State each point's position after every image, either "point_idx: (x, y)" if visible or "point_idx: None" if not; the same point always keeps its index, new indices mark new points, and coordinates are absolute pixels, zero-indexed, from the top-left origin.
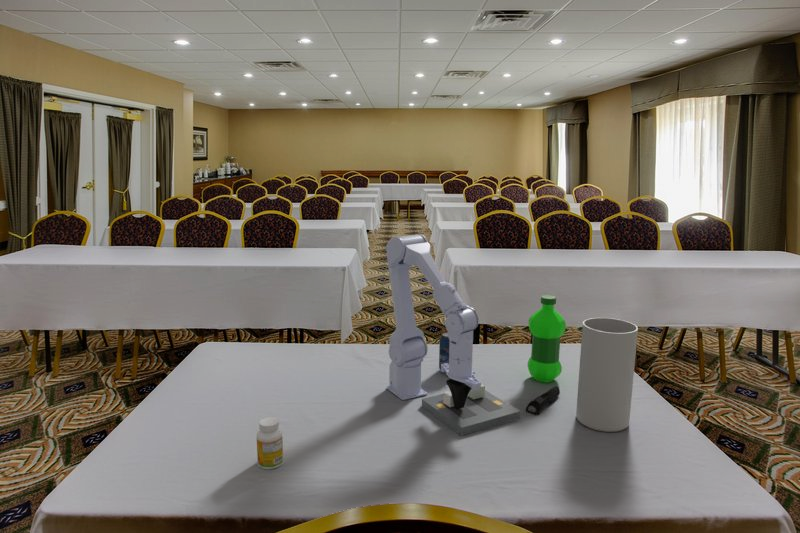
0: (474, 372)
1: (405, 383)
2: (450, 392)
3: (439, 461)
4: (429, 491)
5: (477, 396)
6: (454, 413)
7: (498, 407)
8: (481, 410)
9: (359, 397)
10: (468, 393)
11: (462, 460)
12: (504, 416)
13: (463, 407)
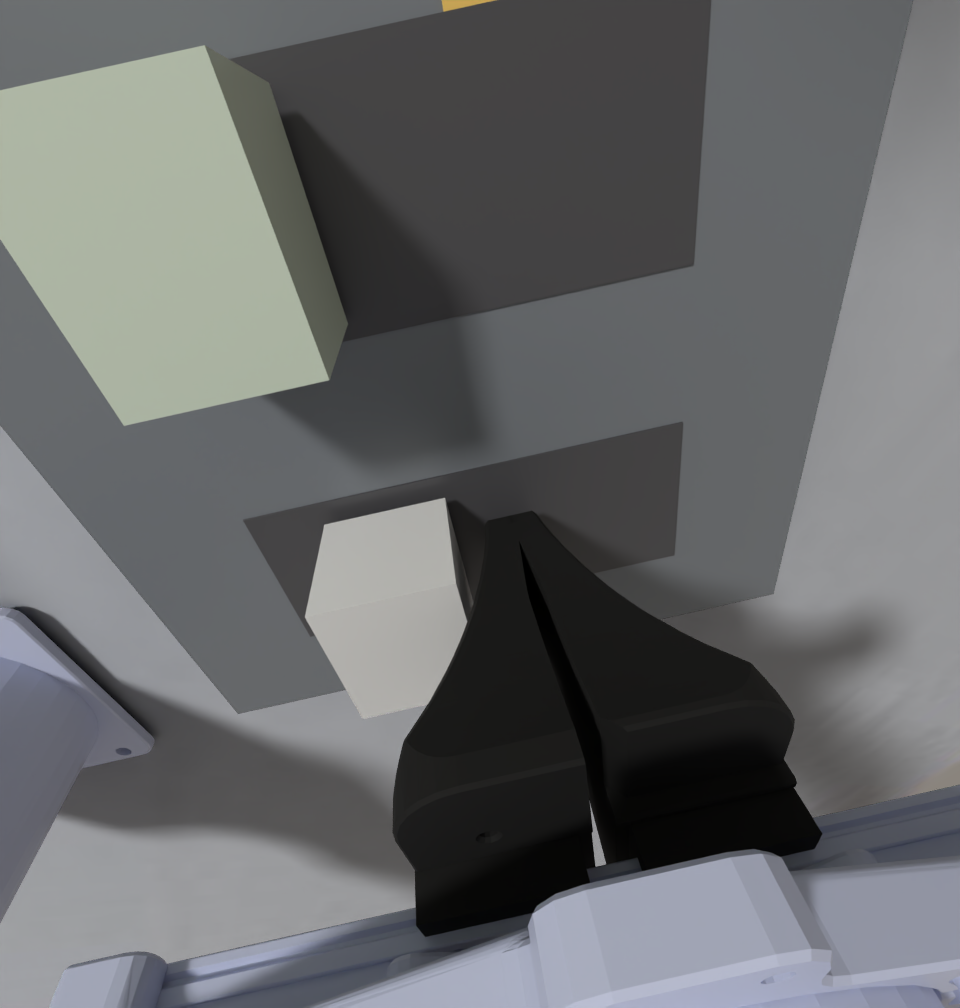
0: (812, 924)
1: (38, 849)
2: (395, 676)
3: (851, 686)
4: (956, 734)
5: (318, 255)
6: None
7: (671, 37)
8: (620, 336)
9: (111, 866)
10: (626, 600)
11: (924, 613)
12: (881, 99)
13: (537, 516)
